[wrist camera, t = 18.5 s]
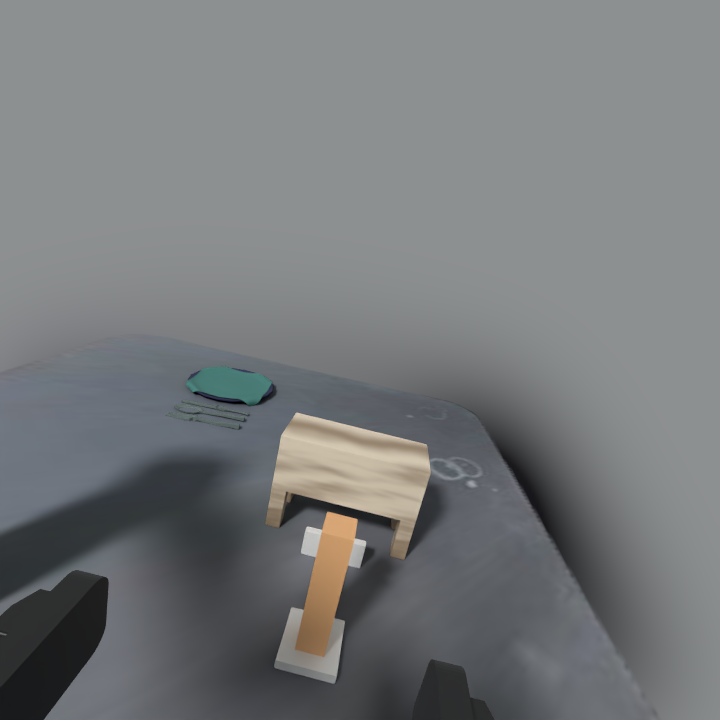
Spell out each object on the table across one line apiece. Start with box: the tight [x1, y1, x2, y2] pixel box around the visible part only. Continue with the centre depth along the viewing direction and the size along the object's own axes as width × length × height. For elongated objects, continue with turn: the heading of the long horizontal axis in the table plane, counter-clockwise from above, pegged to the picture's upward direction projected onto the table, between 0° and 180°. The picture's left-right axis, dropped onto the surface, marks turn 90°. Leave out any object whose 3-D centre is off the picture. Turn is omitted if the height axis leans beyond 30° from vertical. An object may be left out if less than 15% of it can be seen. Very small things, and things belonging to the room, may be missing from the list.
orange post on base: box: [274, 512, 366, 684], centre depth 44 cm, size 16×8×15 cm, turn 174°
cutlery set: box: [166, 367, 273, 429], centre depth 94 cm, size 20×30×2 cm, turn 178°
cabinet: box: [265, 413, 431, 560], centre depth 59 cm, size 10×20×14 cm, turn 84°
